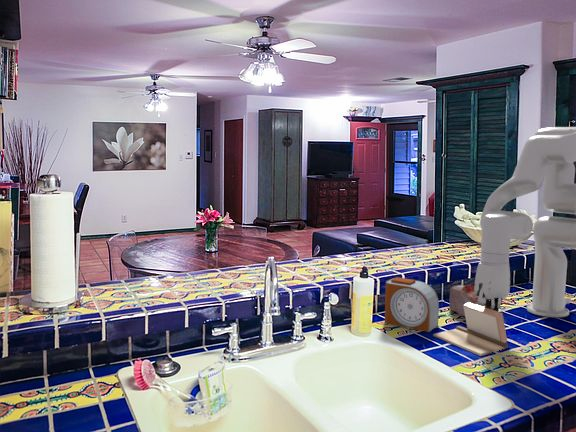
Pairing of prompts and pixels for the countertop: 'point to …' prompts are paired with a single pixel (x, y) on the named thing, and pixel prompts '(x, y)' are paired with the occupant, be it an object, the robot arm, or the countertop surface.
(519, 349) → the countertop surface
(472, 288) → the food item
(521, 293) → the countertop surface
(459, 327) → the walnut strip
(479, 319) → the tile
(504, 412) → the countertop surface
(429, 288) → the alarm clock
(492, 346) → the tan flat rectangular panel
